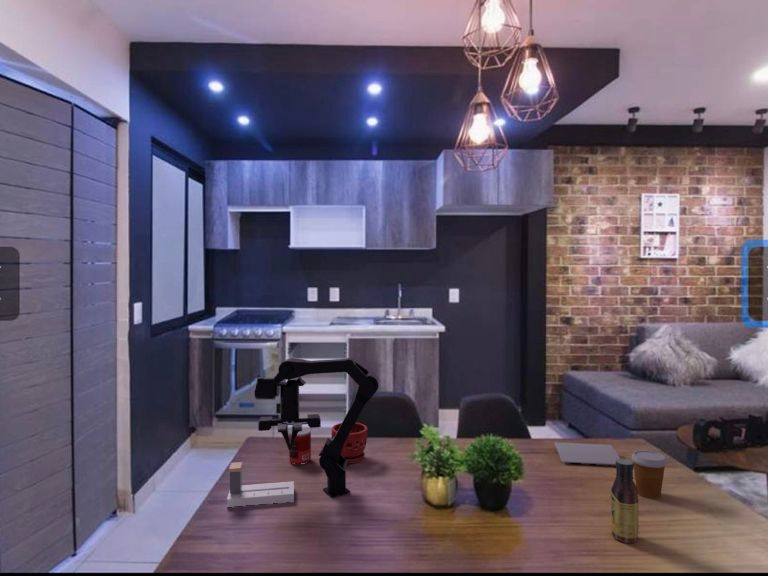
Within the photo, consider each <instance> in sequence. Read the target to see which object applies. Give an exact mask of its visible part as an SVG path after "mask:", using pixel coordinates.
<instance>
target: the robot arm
mask: <svg viewBox="0 0 768 576" xmlns="http://www.w3.org/2000/svg"><path fill="white" fill-rule="evenodd" d="M332 373H334V374H335V373H346V374H348V375H349V377H350V378H351V379H352V380H353V381H354V382H355V383H356V384H357V385H358V387H357V391H356V394H355V398H353V399H354V400H353V402H352V403H351V406H350V407H349V408H348V410H347V413H346V415H345V416H344V418H343V420H342V422H341V423H342V424H341V426H340V428H339V429H338V431H337V433H336V435H335V436H334V438H333V439H332V438H330V437H327V438H326V440H325V443H324V445H323V446H322V447H321V450H320V451H319V454H318V457H319V459H318V463H319V466H320V467H321V469H323V471H324V473H325V475H326V477H327V480H326V481H327V484H326V487H324V488H322V491H323V492H325V493H326V494H327V495H328V496H329V497H330V498H335V497H340V496H343V495H347V494H351V491H350V489H348V488H347V481H346V480H347V479H346V476H347V472H346V467H347V464H348V463H347V460H346V459H345V458H344V457H343V456H342V455H341V452H342V449H343V446H344V443H345V441H346V440H347V438H348V436H349V434H350V432H351V431H352V428H353V426H354V425H355V423H357V421H358V419H359V417H360V415H361V413H362V412H363V409H364V408H365V406H366V405H367V404H368V402H370V400H371V399H372V398H373V396H374V395H375V394H376V392H378V389H379V385H380V378H379V376H378V375H377V374H376V373H375V372H370V371H369V370H368V369H366V368H365V367H363V365H361V364H360V363H358V362H357V361H356V360H355V358H353V357H347V358H346V357H345V358H335V359H318V360H317V359H316V360H307V359H304V358H298V357H297V358H296V357H289V358H286V359H285V360H283V362H281V363H280V364H279V367H278V373H276V375H275V376H274V377H264V376H259V377H258V378H256V384H255V389H254V398H255V400H260V401H261V400H263V401H264V400H265V401H267V400H271V401H273V400H276V399H277V397H279V396H280V397H279V398H280V399H279V400H280V401H279V402H277V403H275V404H276V409H275V413H276V414H277V415H278V414H280V415H279V416H280V419H273V416H261V417H260V418H259V419H258V426H257V427H258V428H257V429H258V431H259V432H263V431H270V430H271V429H272V427H277V433H281V435H282V437H283V438H284V441H285V443H286V446H287V449H288V451H289V450H292V446H293V443H294V441H295V438H296V436H297V434H298V432H299V431H302V428H303V425H307V426H308V427H309V429H316V428H321V427H322V425H321V422H322V421H321V416H320V414H319V413H312V414H311V413H310V414H307V417H302V418H301V417H300V387H303V386H305V385H306V384H307V383H306V381H305V380H304V379H303V378H302V377H303V376H307V375H319V374H332ZM284 380H286V381H284ZM289 426H291V430H292V433H291V441H290V440H289Z"/></svg>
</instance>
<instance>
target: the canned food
mask: <svg viewBox="0 0 768 576" xmlns="http://www.w3.org/2000/svg"><path fill="white" fill-rule="evenodd" d="M288 433H289V440H290V441H291V433H292V429H290V430H289V431H288ZM311 443H312V431H311V428H307V427H302V431H299V432H298V434H297V436H296V438H295V441H294V443H293V446H292V450H289V449H288V452H289V454H288V457H289V458H288V459H289V463H290V462H291V463H295V464H301V463H306V462H308V461H310V462H311V459H312V444H311ZM291 463H290V464H291ZM308 463H309V462H308Z"/></svg>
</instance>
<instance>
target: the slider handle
mask: <svg viewBox="0 0 768 576" xmlns="http://www.w3.org/2000/svg"><path fill="white" fill-rule="evenodd" d="M242 467H243V461H241V462H240V461H238V462H231V463H230V465H229V468H228V472H229V491H230V494H232V493H241V489H242V485H243V468H242Z"/></svg>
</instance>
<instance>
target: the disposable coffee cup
mask: <svg viewBox="0 0 768 576" xmlns="http://www.w3.org/2000/svg"><path fill="white" fill-rule="evenodd" d="M630 459H631V461H632V462H633V464H634V467H633V471H634V478H635V479H634V480H635V485H636V487H637V489H638V496H641V497H644V498H647V499H653V500H654V499H656V500H657V499H659V498H661V496H662V495H661V494H662V488H663V481H664V476H665V475H664V474H665V469H666V468H665V467H666V466H667V463H668V462H667V460H666V456H665V455H663V454H661V453H659V452H657V451H656V452H655V451H651V450H647V449H646V450H644V449H643V450H641V449H640V450H639V449H637V450H634V451H633V452H632V455H631V457H630Z"/></svg>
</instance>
